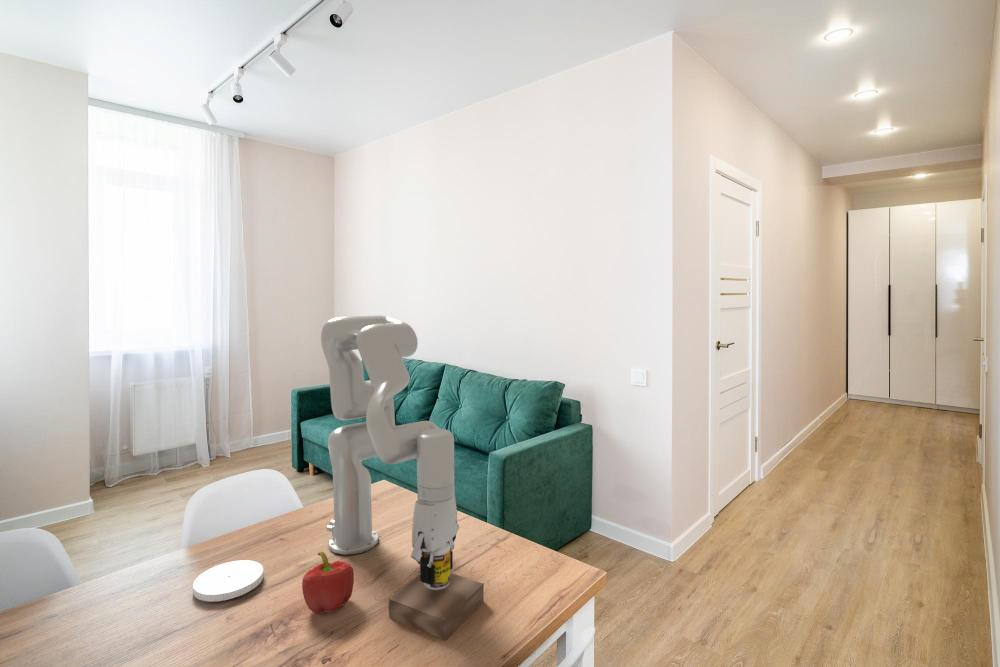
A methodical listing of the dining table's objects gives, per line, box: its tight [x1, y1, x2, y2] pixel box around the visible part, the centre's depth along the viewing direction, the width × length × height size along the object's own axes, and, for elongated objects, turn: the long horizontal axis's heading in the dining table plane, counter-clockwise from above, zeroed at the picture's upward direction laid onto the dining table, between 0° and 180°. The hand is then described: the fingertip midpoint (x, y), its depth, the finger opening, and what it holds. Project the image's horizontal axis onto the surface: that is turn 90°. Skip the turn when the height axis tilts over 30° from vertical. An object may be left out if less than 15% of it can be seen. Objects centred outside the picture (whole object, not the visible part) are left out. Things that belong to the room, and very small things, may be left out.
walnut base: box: [388, 572, 485, 641], centre depth 106 cm, size 14×14×4 cm
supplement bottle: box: [424, 542, 451, 590], centre depth 105 cm, size 6×6×10 cm
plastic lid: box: [192, 559, 264, 603], centre depth 114 cm, size 14×14×2 cm
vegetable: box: [301, 551, 355, 614], centre depth 107 cm, size 11×10×10 cm
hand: (436, 574), depth 105 cm, fingers closed on supplement bottle, 5 cm apart
